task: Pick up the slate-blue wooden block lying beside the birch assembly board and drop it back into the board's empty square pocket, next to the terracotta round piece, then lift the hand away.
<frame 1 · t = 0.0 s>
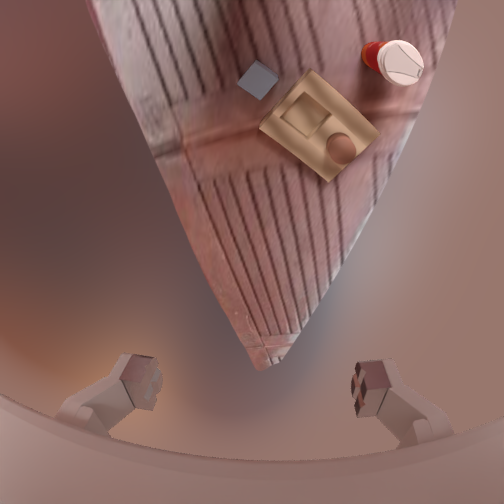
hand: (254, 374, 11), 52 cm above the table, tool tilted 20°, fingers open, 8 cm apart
paper cup: (374, 55, 42), on the table
assembly board: (319, 123, 53), on the table
slate block: (258, 76, 48), on the table
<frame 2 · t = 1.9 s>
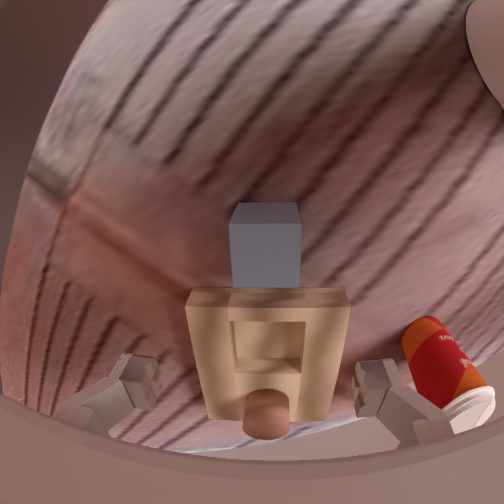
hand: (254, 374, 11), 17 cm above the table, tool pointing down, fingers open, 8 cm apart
paper cup: (420, 333, 31), on the table
assembly board: (268, 354, 33), on the table
slate block: (267, 229, 27), on the table
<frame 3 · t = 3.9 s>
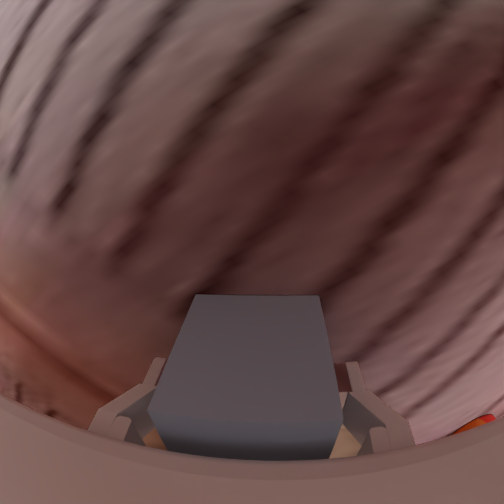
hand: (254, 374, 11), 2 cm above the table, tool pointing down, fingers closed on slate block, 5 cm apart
assembly board: (260, 473, 19), on the table
slate block: (257, 342, 13), on the table, touching gripper
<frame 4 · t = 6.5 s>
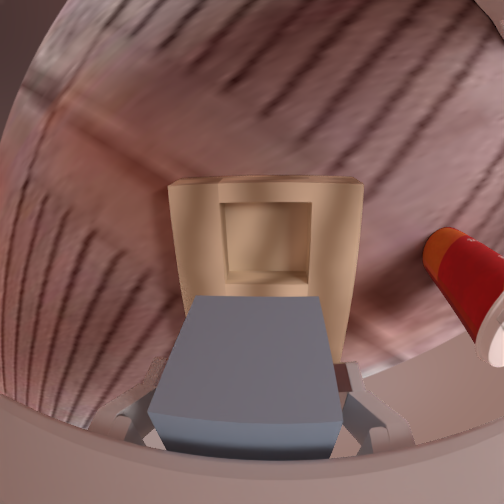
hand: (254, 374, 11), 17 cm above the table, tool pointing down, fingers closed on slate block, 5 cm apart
paper cup: (442, 250, 26), on the table
assembly board: (267, 270, 28), on the table
slate block: (257, 343, 13), point 15 cm above the table, touching gripper
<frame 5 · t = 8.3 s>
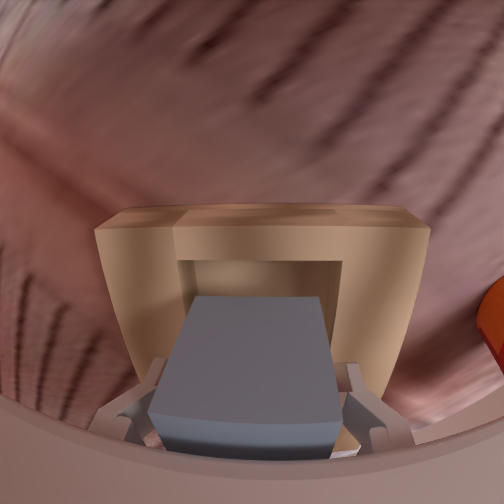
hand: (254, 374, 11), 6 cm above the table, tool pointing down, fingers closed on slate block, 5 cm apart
paper cup: (500, 302, 16), on the table
assembly board: (263, 343, 18), on the table
slate block: (257, 343, 13), point 4 cm above the table, touching gripper
when the fingers open (5 cm above the table, at t = 9.4 s): slate block drops 2 cm, resting on assembly board.
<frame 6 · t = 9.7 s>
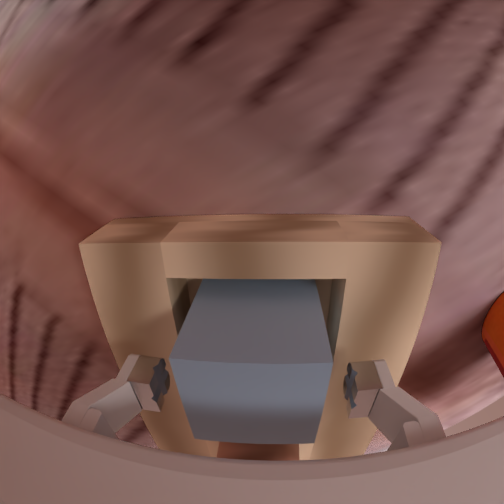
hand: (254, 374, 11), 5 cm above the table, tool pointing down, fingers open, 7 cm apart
assembly board: (261, 358, 17), on the table
slate block: (260, 315, 15), point 1 cm above the table, touching assembly board
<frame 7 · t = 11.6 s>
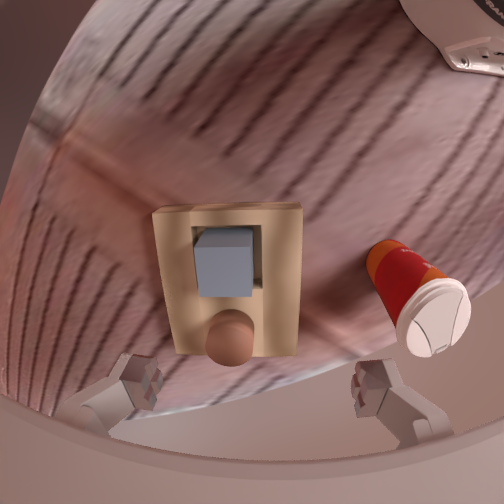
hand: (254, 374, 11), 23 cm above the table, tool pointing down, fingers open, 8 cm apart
paper cup: (386, 259, 33), on the table
assembly board: (233, 278, 35), on the table
slate block: (230, 249, 33), point 1 cm above the table, touching assembly board
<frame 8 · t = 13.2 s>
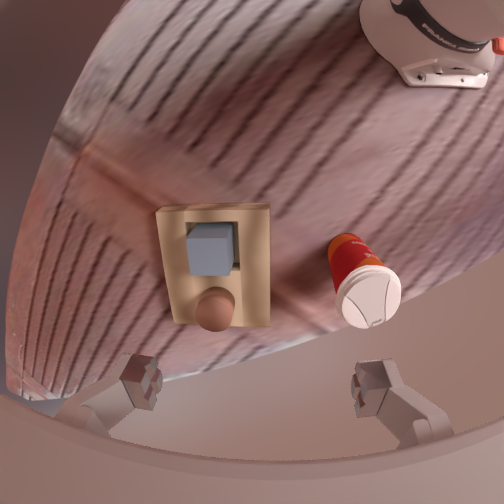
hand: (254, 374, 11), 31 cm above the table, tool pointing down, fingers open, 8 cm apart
paper cup: (345, 249, 42), on the table
assembly board: (219, 262, 44), on the table
slate block: (216, 239, 42), point 1 cm above the table, touching assembly board
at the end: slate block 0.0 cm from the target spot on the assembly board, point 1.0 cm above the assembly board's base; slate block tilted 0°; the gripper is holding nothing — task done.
